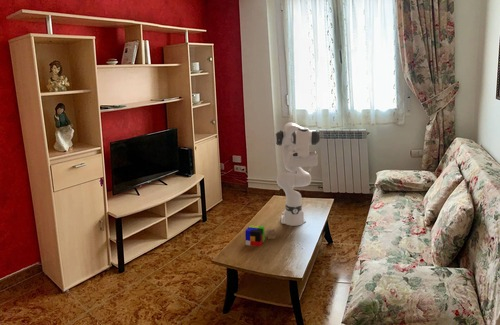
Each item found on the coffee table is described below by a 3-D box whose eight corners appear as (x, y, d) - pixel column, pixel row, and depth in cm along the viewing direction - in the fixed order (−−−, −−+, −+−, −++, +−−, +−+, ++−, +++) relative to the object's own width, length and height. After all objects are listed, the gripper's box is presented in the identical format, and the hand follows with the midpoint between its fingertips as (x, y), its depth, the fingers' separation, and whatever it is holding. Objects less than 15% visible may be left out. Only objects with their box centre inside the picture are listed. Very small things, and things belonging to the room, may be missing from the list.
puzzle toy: (245, 244, 275) (245, 230, 273) (250, 238, 284) (250, 225, 282) (260, 246, 272) (259, 232, 270) (264, 240, 281) (264, 226, 279)
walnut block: (267, 236, 288) (267, 229, 287) (274, 235, 289) (274, 229, 288) (268, 239, 283) (268, 232, 282) (275, 238, 284) (275, 232, 283)
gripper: (316, 150, 274) (316, 171, 277) (286, 152, 271) (286, 172, 274) (319, 152, 268) (319, 173, 271) (288, 154, 264) (288, 175, 268)
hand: (302, 173), depth 272 cm, fingers open, 8 cm apart
